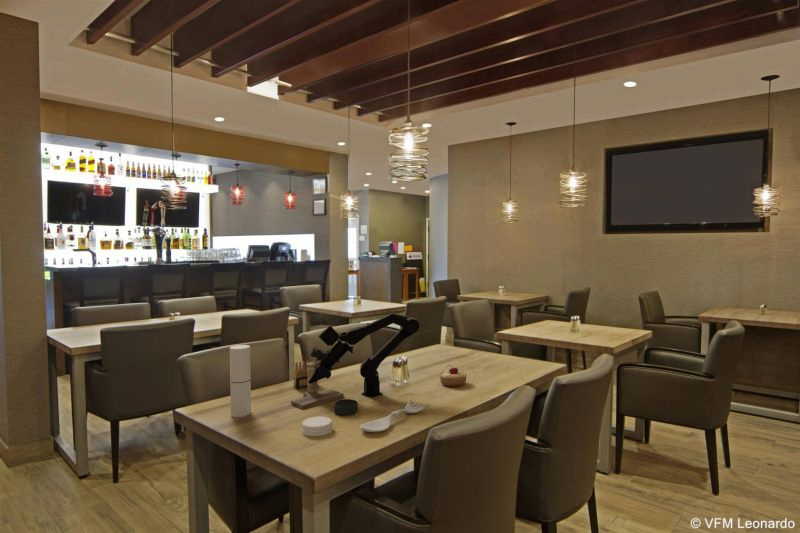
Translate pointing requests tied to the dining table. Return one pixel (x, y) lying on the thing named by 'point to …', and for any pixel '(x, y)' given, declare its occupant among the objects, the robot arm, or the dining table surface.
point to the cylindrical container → (240, 380)
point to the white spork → (386, 421)
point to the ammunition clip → (301, 375)
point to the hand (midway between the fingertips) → (309, 381)
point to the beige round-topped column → (310, 371)
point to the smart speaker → (346, 407)
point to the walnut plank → (317, 399)
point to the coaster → (317, 426)
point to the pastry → (453, 378)
